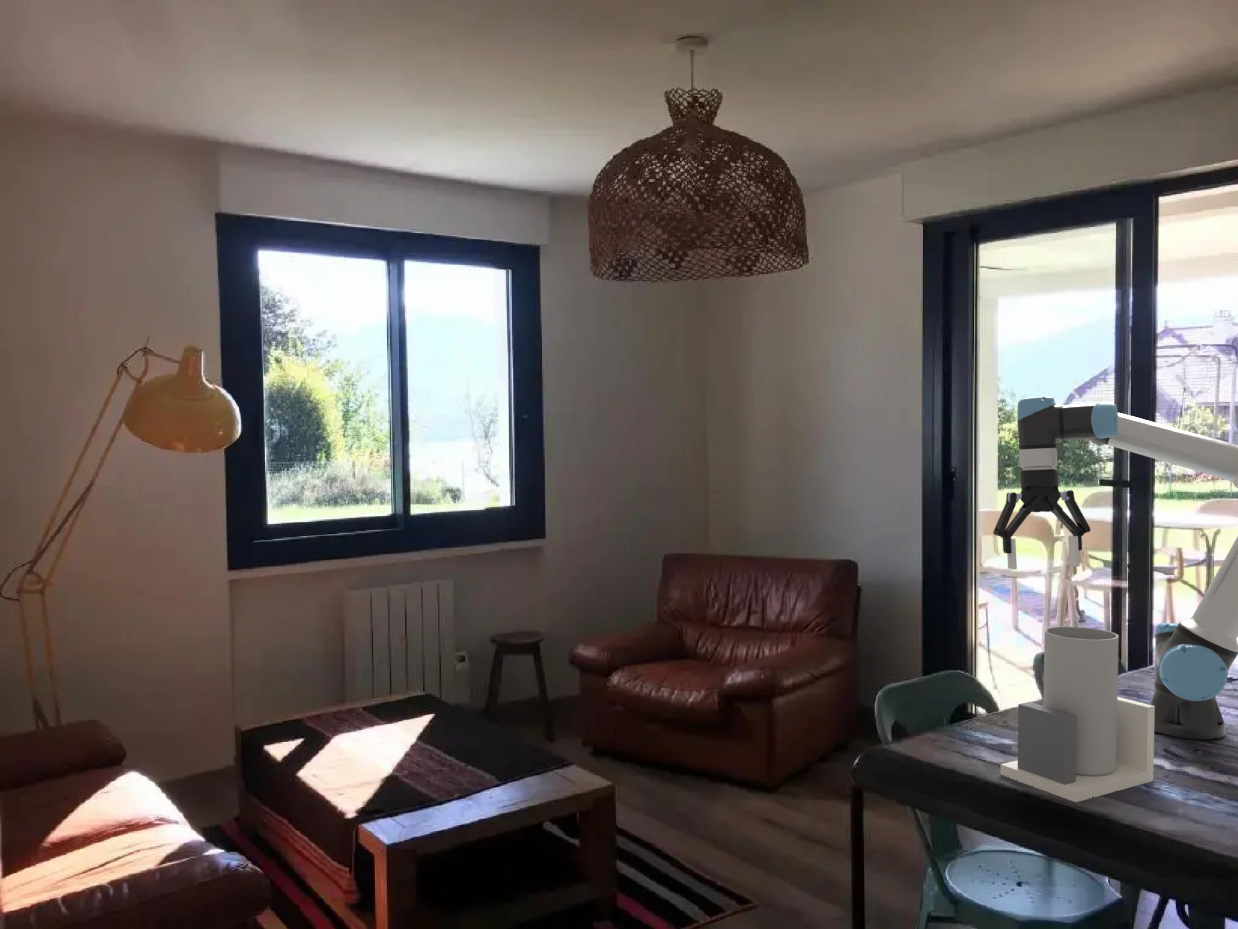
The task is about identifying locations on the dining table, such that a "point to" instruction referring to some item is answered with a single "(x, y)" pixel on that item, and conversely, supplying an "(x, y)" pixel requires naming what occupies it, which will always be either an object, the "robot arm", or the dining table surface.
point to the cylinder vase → (1085, 691)
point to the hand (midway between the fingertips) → (1043, 567)
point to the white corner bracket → (1054, 751)
